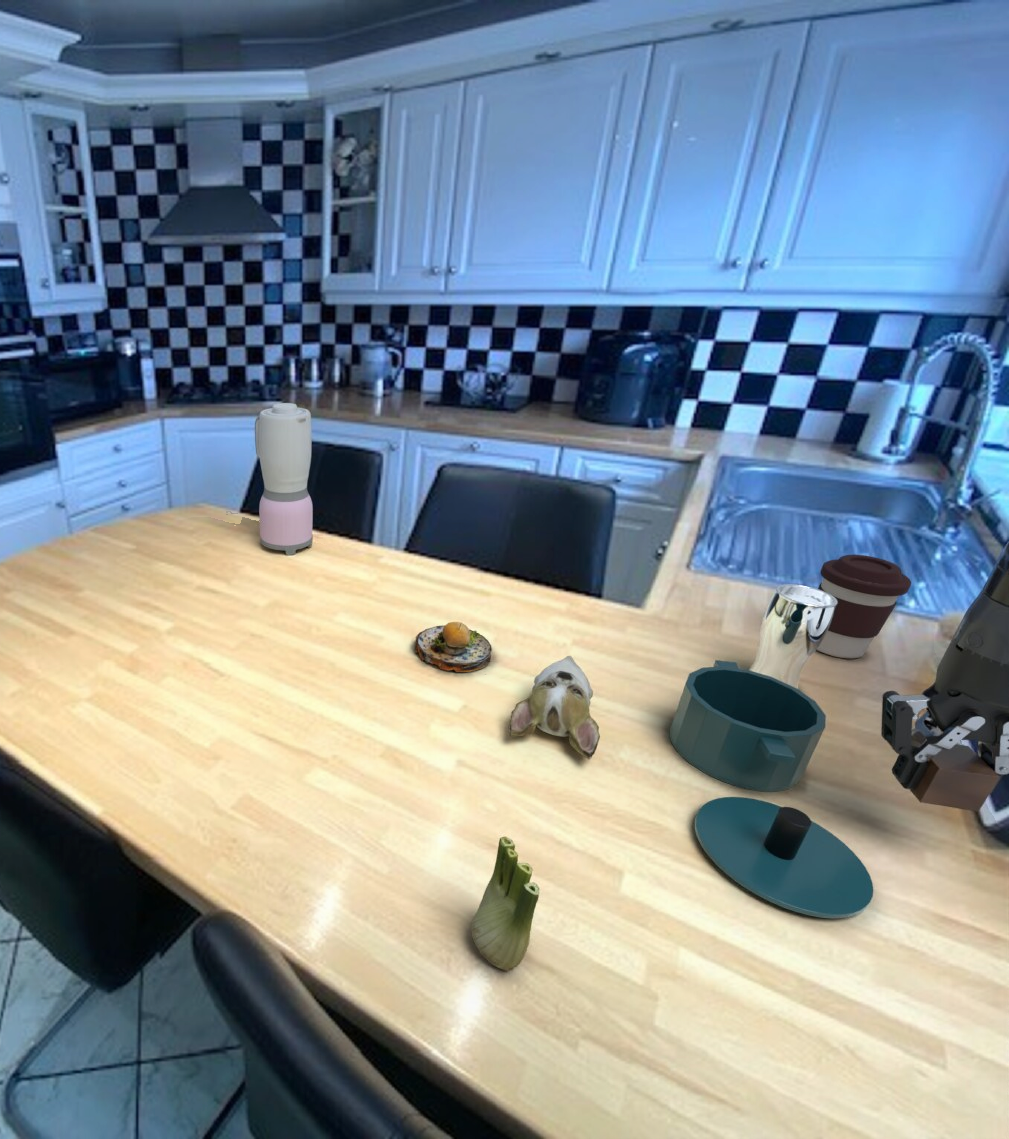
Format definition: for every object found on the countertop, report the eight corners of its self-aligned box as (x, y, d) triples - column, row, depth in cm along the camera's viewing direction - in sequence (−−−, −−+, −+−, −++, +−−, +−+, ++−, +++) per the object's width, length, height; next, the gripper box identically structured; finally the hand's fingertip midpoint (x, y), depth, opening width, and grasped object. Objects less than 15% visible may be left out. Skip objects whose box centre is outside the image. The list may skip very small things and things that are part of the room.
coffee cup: (802, 624, 106) (835, 544, 100) (880, 648, 99) (921, 563, 93) (786, 646, 101) (820, 562, 94) (867, 672, 94) (910, 584, 87)
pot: (766, 715, 86) (787, 664, 82) (832, 820, 70) (862, 762, 66) (654, 698, 90) (669, 649, 86) (691, 793, 74) (712, 738, 70)
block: (949, 779, 64) (968, 745, 63) (978, 812, 61) (1000, 777, 59) (894, 771, 66) (911, 737, 64) (920, 802, 62) (939, 768, 60)
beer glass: (812, 700, 88) (853, 608, 82) (757, 696, 89) (793, 605, 83) (782, 671, 95) (818, 584, 88) (731, 668, 96) (763, 582, 89)
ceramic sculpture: (615, 655, 84) (605, 724, 73) (602, 704, 89) (591, 777, 78) (531, 636, 90) (510, 698, 78) (523, 684, 94) (502, 749, 83)
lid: (827, 820, 70) (848, 780, 67) (902, 941, 57) (931, 898, 55) (677, 792, 74) (691, 753, 71) (716, 898, 62) (734, 856, 59)
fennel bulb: (525, 987, 55) (549, 896, 50) (466, 968, 56) (484, 878, 51) (524, 928, 60) (546, 840, 54) (471, 912, 61) (487, 824, 56)
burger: (494, 641, 105) (500, 603, 101) (486, 680, 95) (493, 639, 92) (422, 628, 109) (425, 590, 106) (408, 663, 100) (411, 623, 97)
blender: (324, 544, 144) (326, 404, 130) (285, 560, 137) (284, 414, 123) (277, 527, 155) (275, 396, 141) (240, 540, 148) (234, 404, 134)
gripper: (1089, 635, 57) (1001, 776, 64) (892, 616, 61) (831, 751, 69) (1167, 682, 50) (1059, 833, 58) (940, 658, 55) (867, 801, 62)
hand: (935, 787), depth 63 cm, fingers closed on block, 4 cm apart
